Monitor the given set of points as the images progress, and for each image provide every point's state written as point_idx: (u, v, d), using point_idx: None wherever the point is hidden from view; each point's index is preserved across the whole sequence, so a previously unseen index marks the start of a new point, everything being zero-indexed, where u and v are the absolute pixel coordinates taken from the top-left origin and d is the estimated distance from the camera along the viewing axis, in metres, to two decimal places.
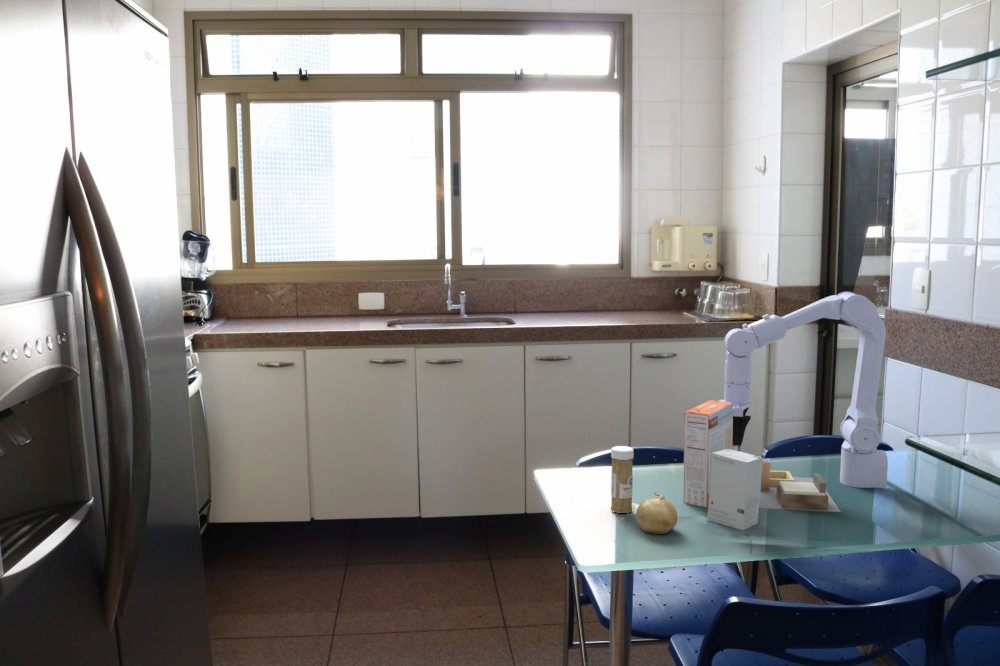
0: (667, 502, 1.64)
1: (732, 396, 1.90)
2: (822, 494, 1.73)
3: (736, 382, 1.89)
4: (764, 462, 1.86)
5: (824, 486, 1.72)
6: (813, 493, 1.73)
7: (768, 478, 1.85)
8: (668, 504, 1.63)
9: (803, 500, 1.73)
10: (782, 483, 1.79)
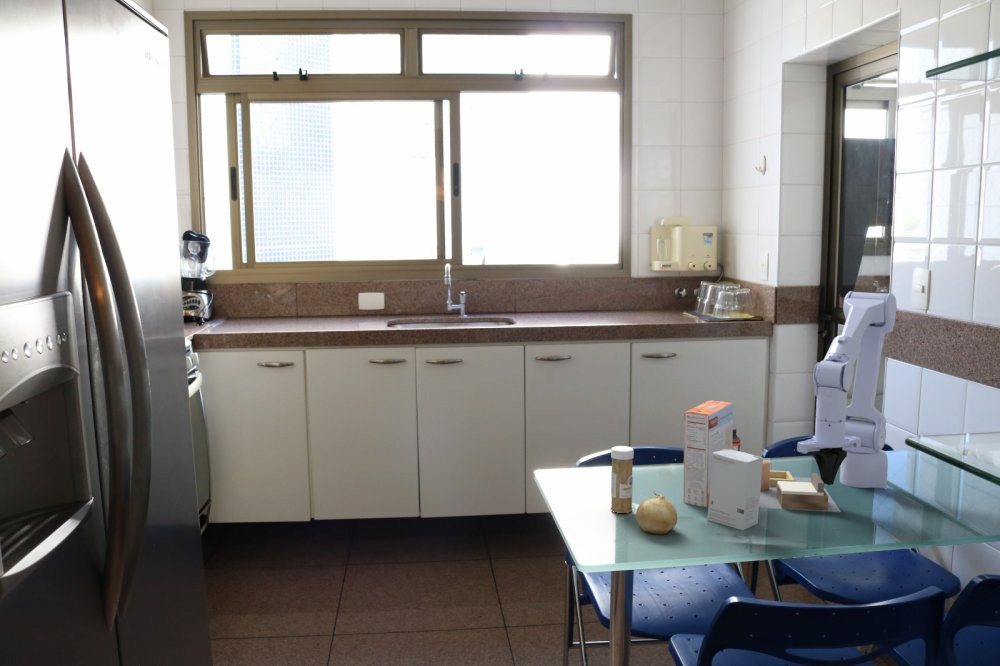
0: (667, 502, 1.64)
1: (815, 432, 1.74)
2: (820, 494, 1.73)
3: (843, 419, 1.71)
4: (764, 462, 1.86)
5: (822, 486, 1.72)
6: (811, 493, 1.73)
7: (768, 478, 1.85)
8: (668, 504, 1.63)
9: (803, 500, 1.73)
10: (780, 483, 1.79)
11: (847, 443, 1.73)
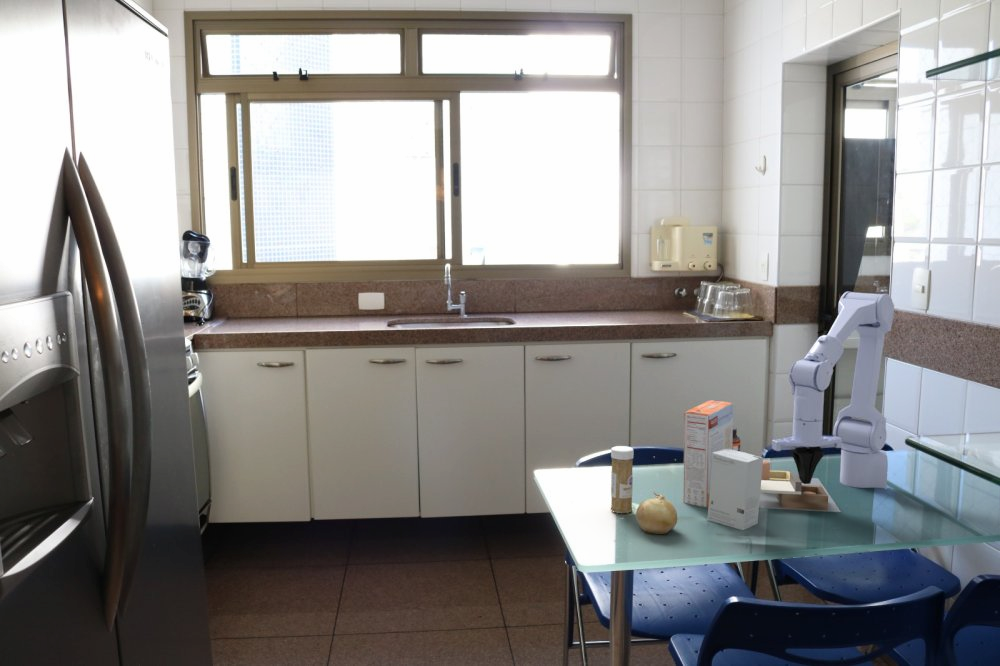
0: (667, 502, 1.64)
1: None
2: (798, 493, 1.73)
3: (818, 419, 1.72)
4: (764, 462, 1.86)
5: (800, 485, 1.73)
6: (789, 492, 1.74)
7: (768, 478, 1.85)
8: (668, 504, 1.63)
9: (803, 500, 1.73)
10: None
11: (824, 443, 1.73)
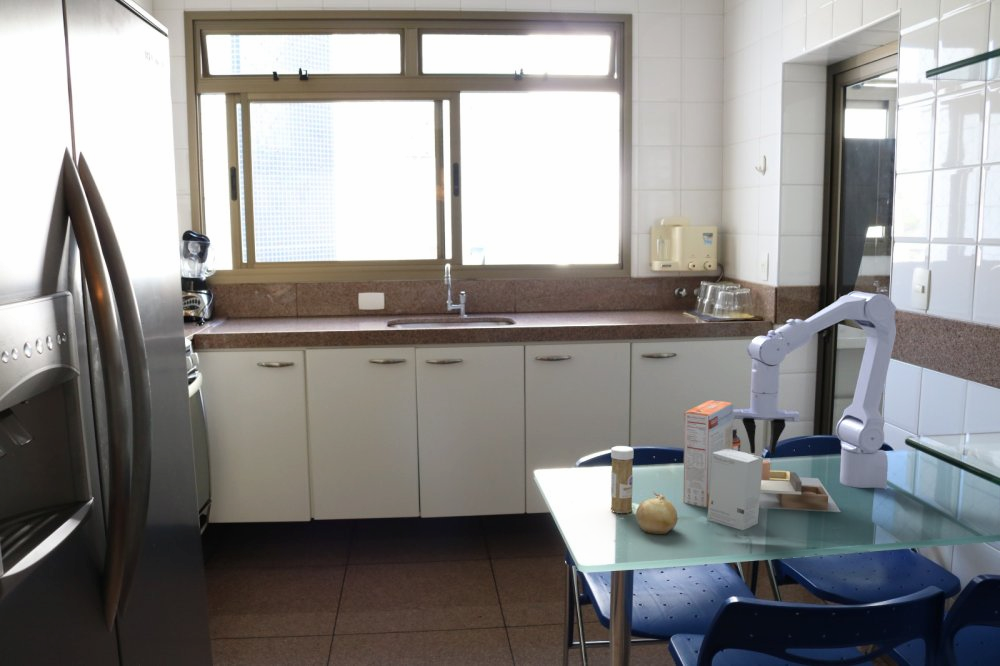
0: (667, 502, 1.64)
1: None
2: (798, 493, 1.73)
3: (768, 392, 1.81)
4: (764, 462, 1.86)
5: (800, 485, 1.73)
6: (789, 492, 1.74)
7: (768, 478, 1.85)
8: (668, 504, 1.63)
9: (803, 500, 1.73)
10: None
11: (777, 415, 1.82)
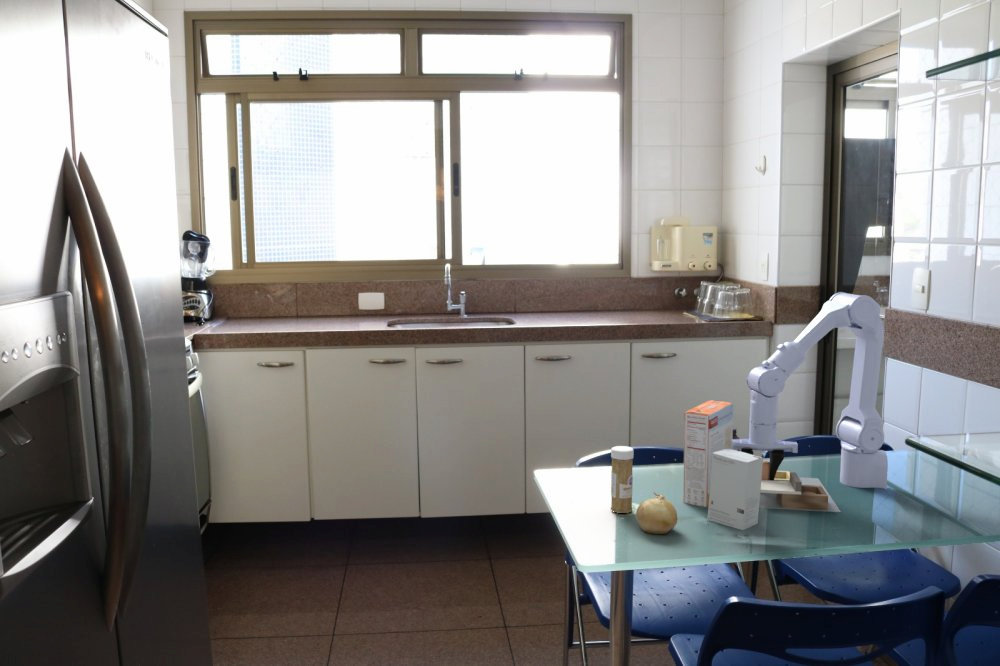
0: (667, 502, 1.64)
1: None
2: (798, 493, 1.73)
3: (766, 423, 1.82)
4: (764, 462, 1.86)
5: (800, 485, 1.73)
6: (789, 492, 1.74)
7: (768, 478, 1.85)
8: (668, 504, 1.63)
9: (803, 500, 1.73)
10: None
11: (776, 446, 1.83)
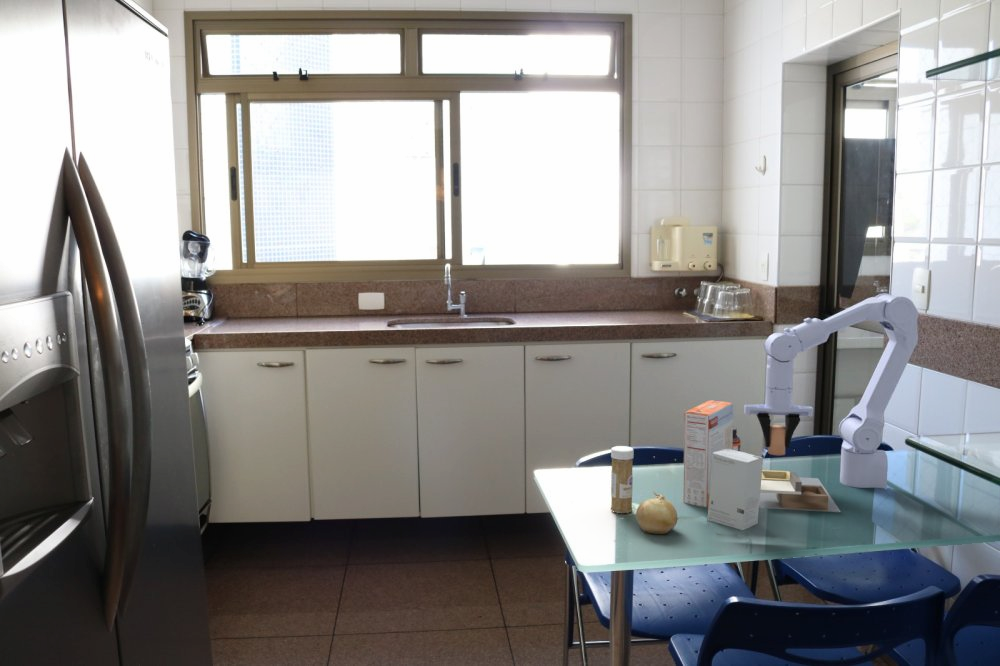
0: (667, 502, 1.64)
1: None
2: (798, 493, 1.73)
3: (779, 387, 1.86)
4: (780, 427, 1.90)
5: (800, 485, 1.73)
6: (789, 492, 1.74)
7: (784, 442, 1.89)
8: (668, 504, 1.63)
9: (803, 500, 1.73)
10: None
11: (791, 410, 1.87)
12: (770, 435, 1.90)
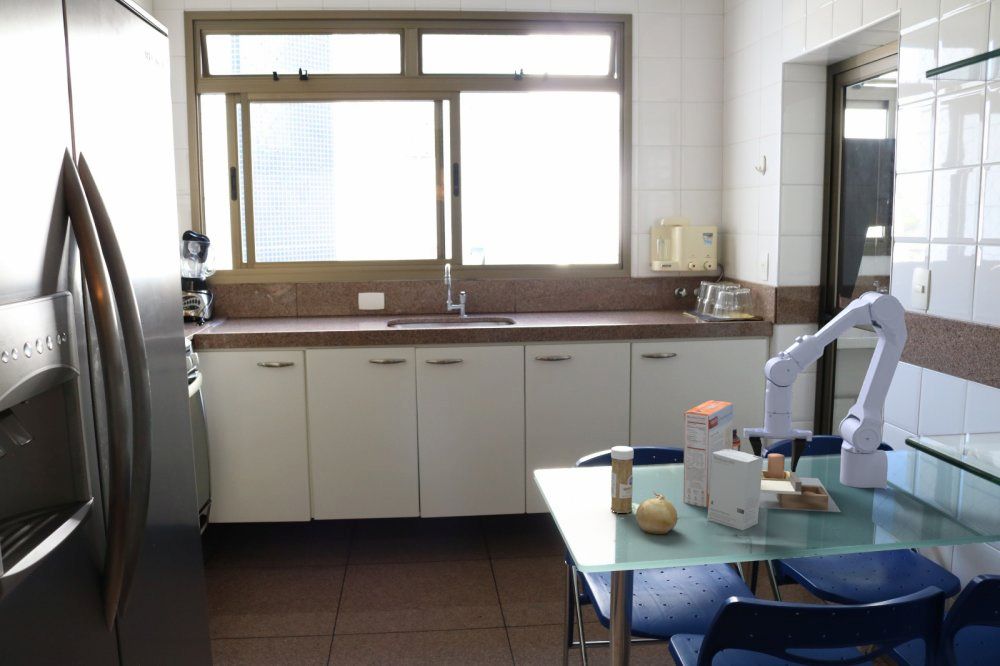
0: (667, 502, 1.64)
1: None
2: (798, 493, 1.73)
3: (778, 412, 1.87)
4: (779, 455, 1.91)
5: (800, 485, 1.73)
6: (789, 492, 1.74)
7: (782, 471, 1.90)
8: (668, 504, 1.63)
9: (803, 500, 1.73)
10: None
11: (790, 435, 1.88)
12: (769, 463, 1.91)
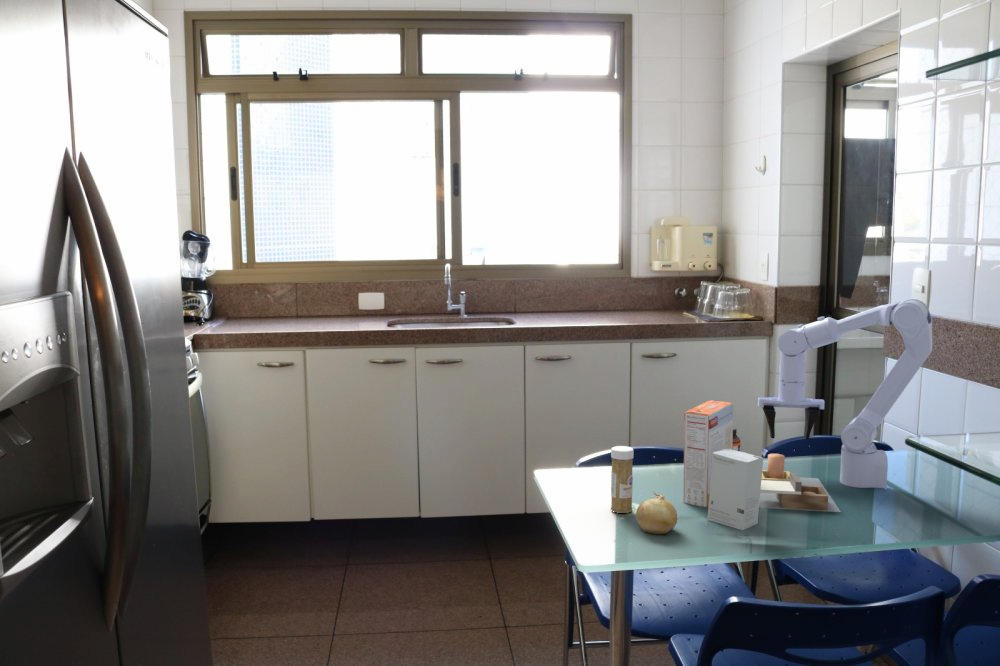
0: (667, 502, 1.64)
1: None
2: (798, 493, 1.73)
3: (786, 380, 1.94)
4: (779, 456, 1.91)
5: (800, 485, 1.73)
6: (789, 492, 1.74)
7: (782, 471, 1.90)
8: (668, 504, 1.63)
9: (803, 500, 1.73)
10: None
11: (804, 403, 1.94)
12: (769, 464, 1.91)
